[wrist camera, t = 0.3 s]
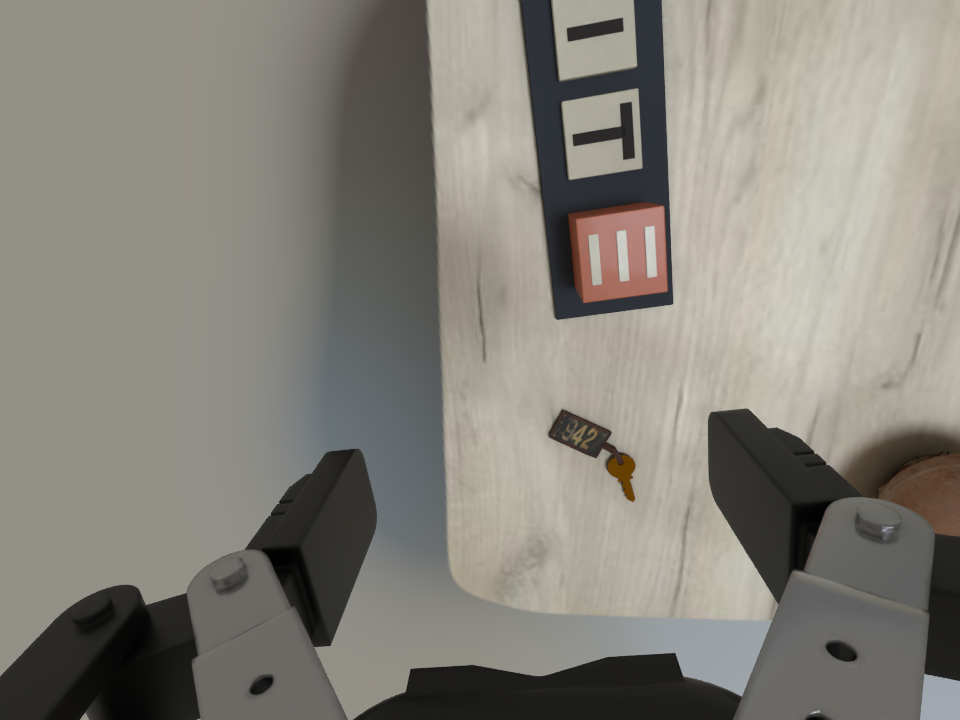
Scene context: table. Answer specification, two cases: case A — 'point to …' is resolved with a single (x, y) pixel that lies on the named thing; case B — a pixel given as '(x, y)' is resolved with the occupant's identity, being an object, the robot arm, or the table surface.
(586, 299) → the red striped block
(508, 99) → the table surface
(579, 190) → the word mat
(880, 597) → the robot arm
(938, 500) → the onion
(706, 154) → the table surface
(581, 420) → the key tag
